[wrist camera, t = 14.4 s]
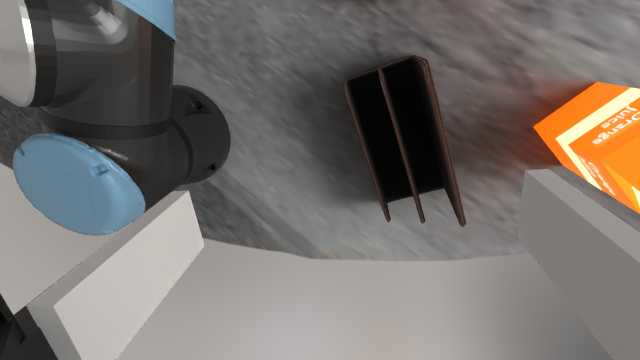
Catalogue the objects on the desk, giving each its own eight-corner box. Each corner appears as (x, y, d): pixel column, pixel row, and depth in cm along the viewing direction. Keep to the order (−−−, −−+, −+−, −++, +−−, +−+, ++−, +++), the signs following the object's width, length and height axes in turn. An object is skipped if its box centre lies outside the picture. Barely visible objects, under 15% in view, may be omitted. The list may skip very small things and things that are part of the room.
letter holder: (415, 53, 44) (435, 58, 31) (447, 184, 50) (474, 233, 38) (344, 79, 46) (335, 93, 34) (383, 200, 53) (388, 252, 40)
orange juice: (627, 125, 44) (813, 184, 26) (562, 166, 47) (687, 245, 29) (596, 80, 42) (770, 110, 24) (531, 126, 45) (642, 183, 27)
